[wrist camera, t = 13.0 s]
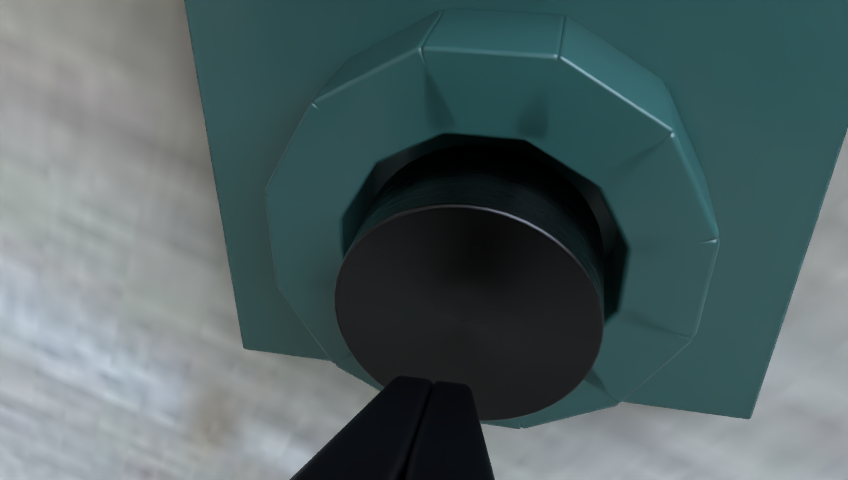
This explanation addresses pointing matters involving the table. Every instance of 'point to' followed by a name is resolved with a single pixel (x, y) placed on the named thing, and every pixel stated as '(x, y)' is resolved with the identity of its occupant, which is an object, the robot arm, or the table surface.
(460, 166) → the button
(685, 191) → the button box
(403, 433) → the robot arm
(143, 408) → the table surface
